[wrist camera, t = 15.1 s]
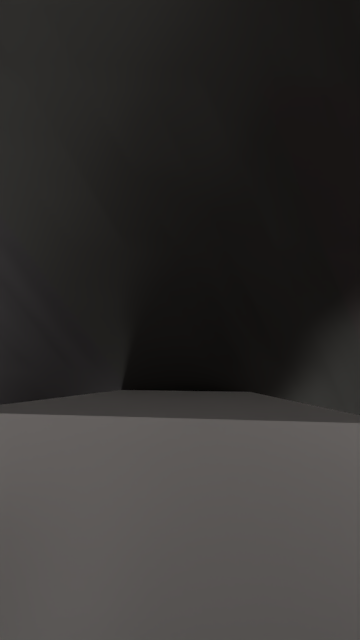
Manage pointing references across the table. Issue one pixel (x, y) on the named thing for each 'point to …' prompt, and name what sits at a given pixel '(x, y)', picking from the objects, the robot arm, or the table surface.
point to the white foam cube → (178, 518)
